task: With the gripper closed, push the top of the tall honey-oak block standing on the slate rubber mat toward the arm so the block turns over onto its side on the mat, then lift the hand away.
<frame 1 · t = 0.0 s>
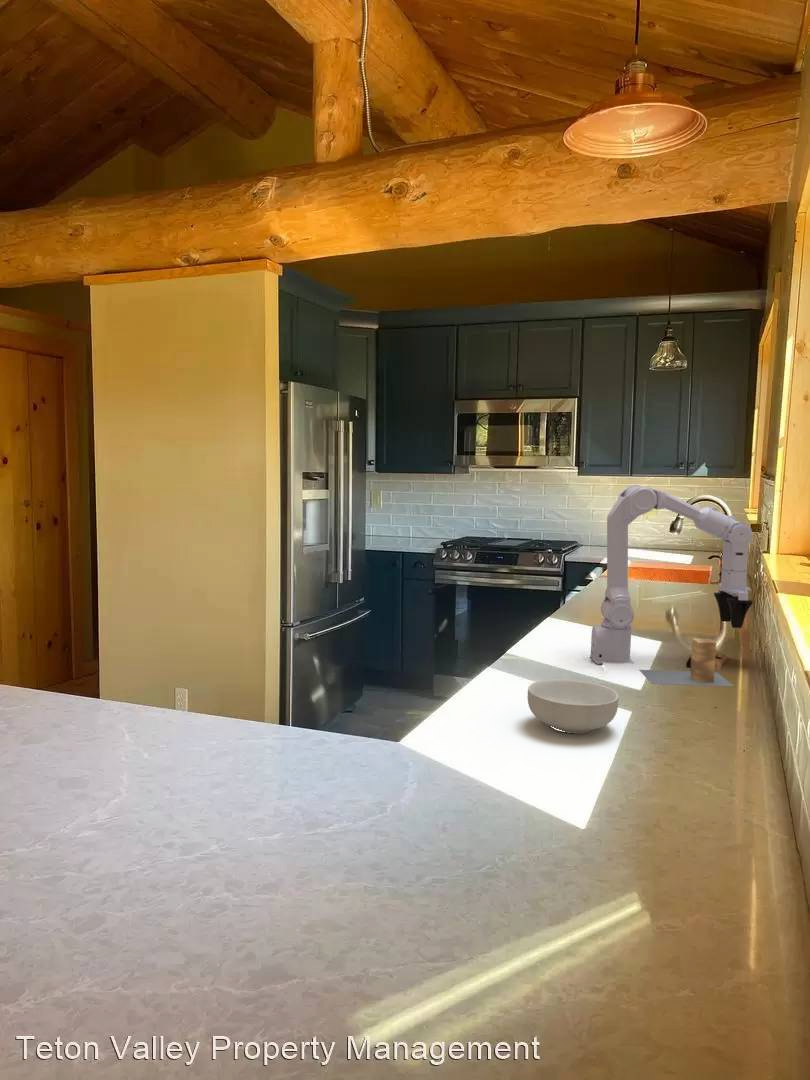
hand: (731, 624, 198), 10 cm above the countertop, fingers open, 7 cm apart
slate mat: (684, 680, 184), on the countertop
cereal bowl: (571, 728, 150), on the countertop
sunglasses case: (708, 666, 199), on the countertop
oak block: (701, 679, 182), point 1 cm above the countertop, touching slate mat
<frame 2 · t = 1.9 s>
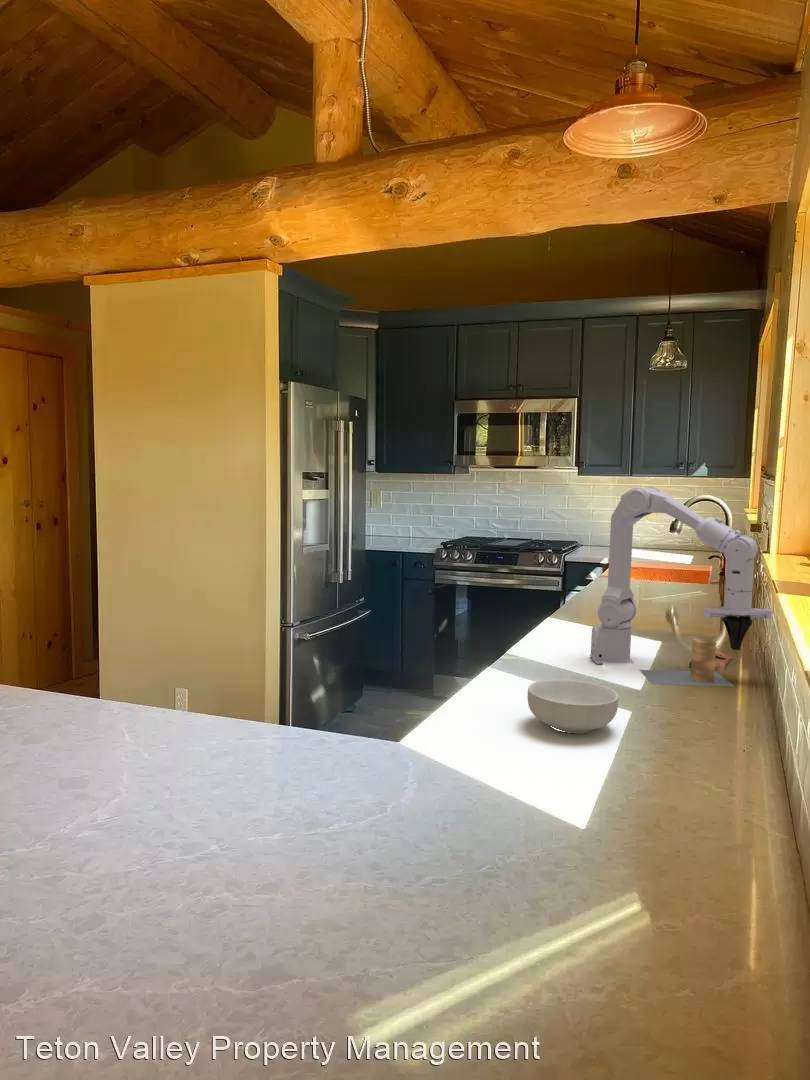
hand: (735, 649, 181), 8 cm above the countertop, fingers closed
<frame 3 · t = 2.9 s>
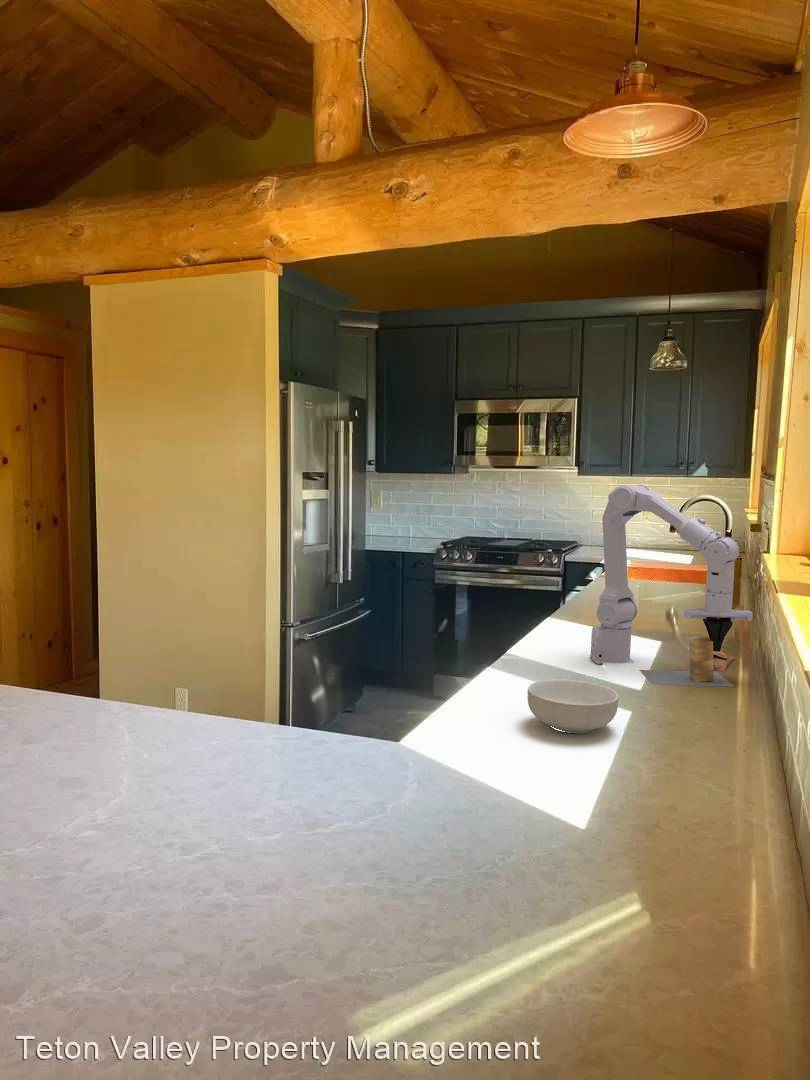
hand: (715, 650, 182), 7 cm above the countertop, fingers closed
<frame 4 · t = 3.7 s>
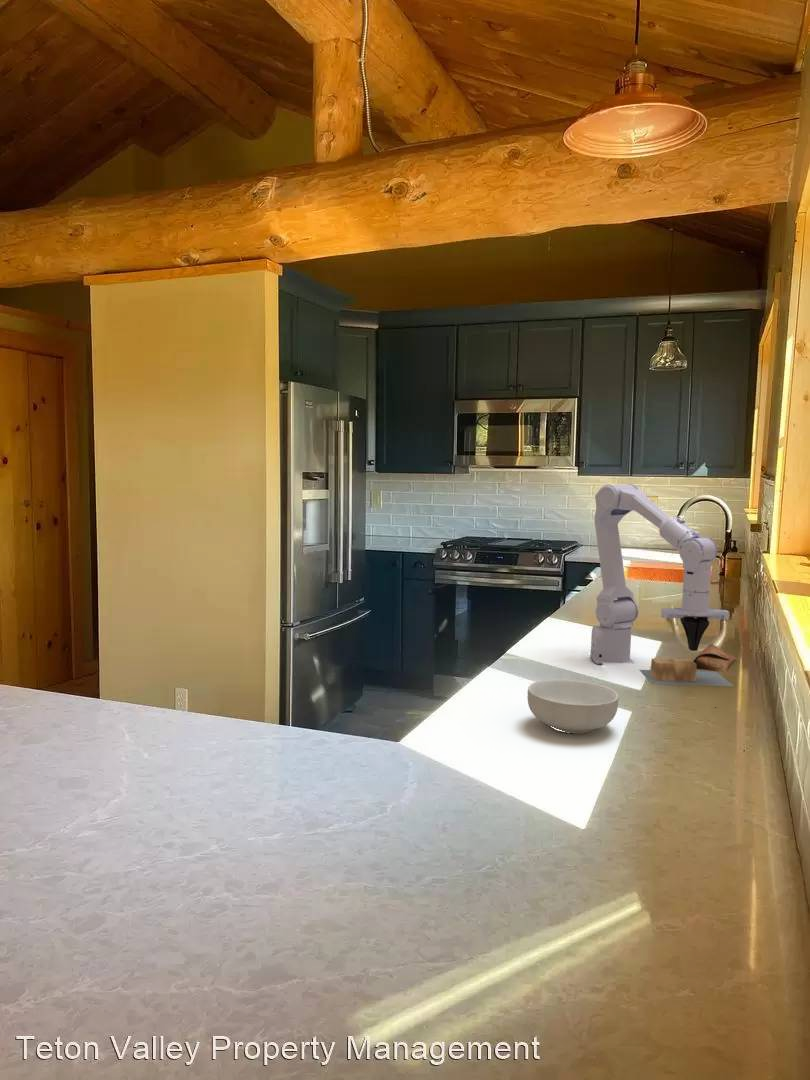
hand: (692, 649, 182), 7 cm above the countertop, fingers closed
oak block: (693, 670, 182), point 3 cm above the countertop, tilted 90°, touching slate mat
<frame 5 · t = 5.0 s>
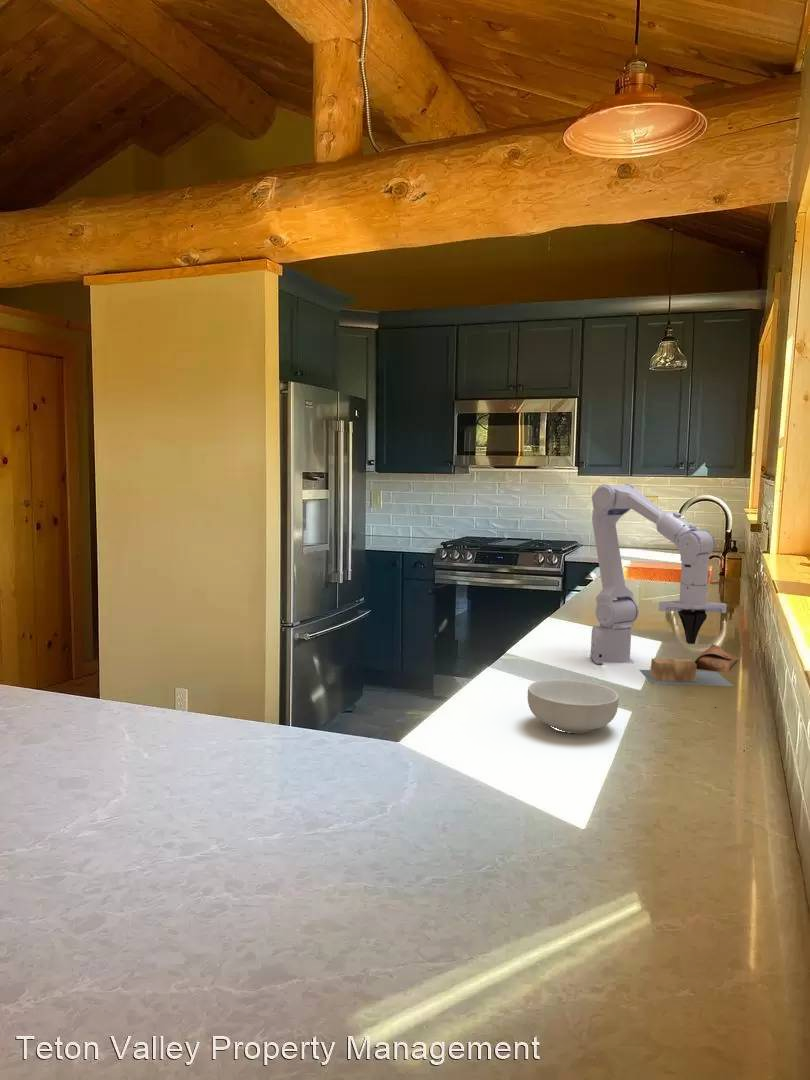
hand: (690, 642, 182), 9 cm above the countertop, fingers closed
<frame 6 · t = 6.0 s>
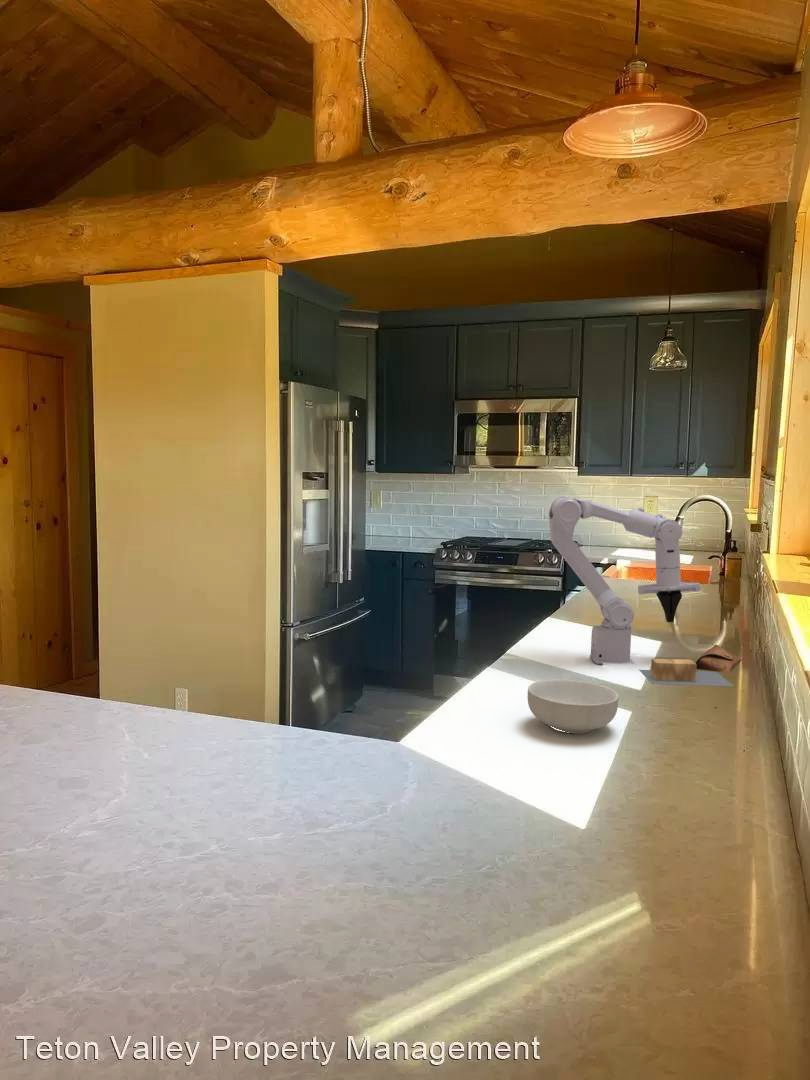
hand: (669, 621, 198), 10 cm above the countertop, fingers closed
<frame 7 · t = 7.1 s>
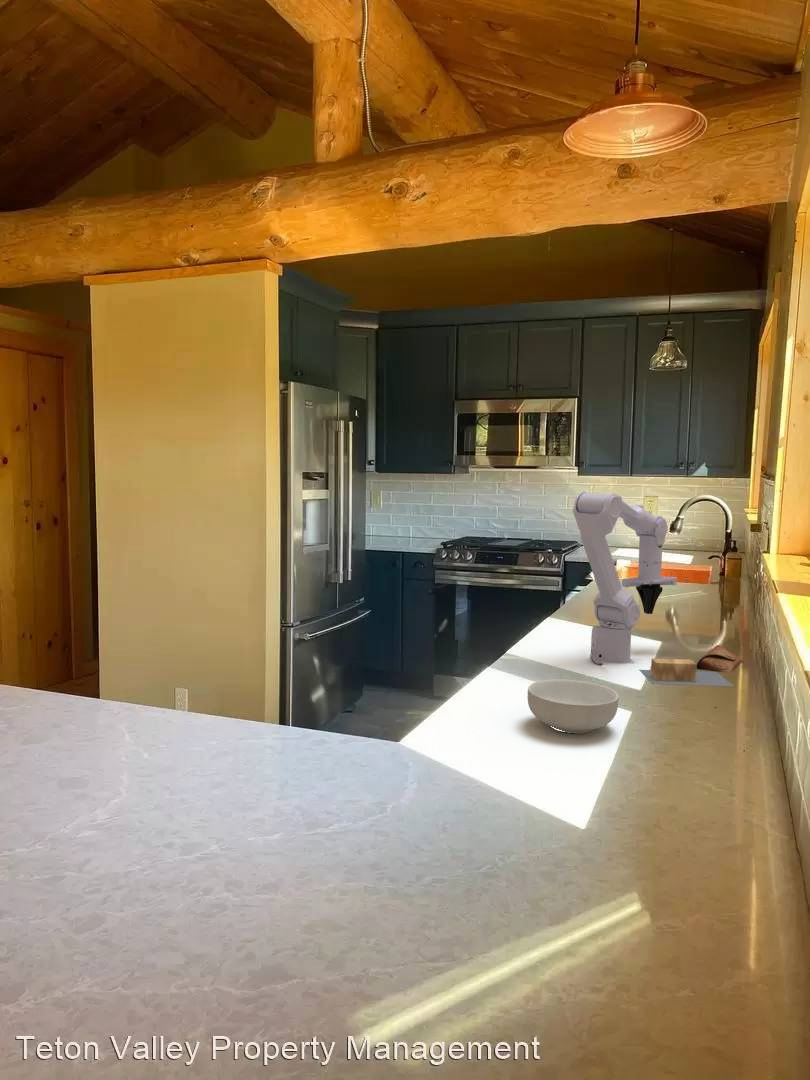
hand: (648, 613, 209), 10 cm above the countertop, fingers closed
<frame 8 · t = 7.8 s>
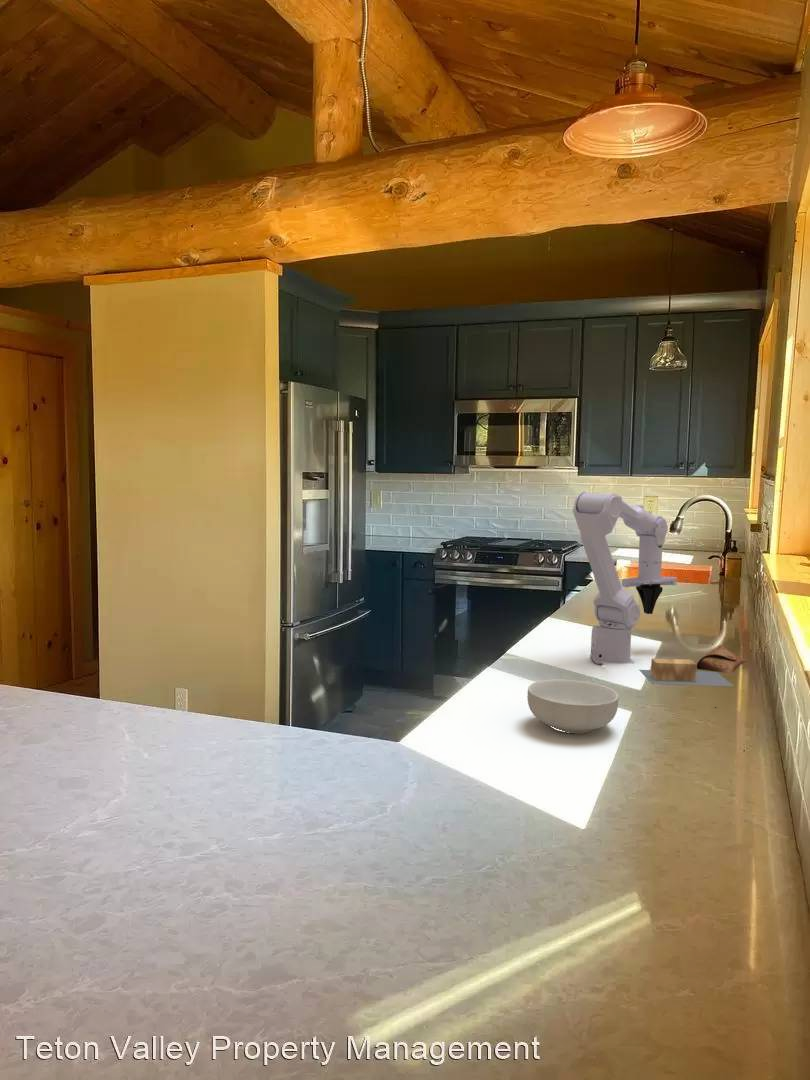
hand: (648, 613, 209), 10 cm above the countertop, fingers closed
at the end: oak block tilted 90°; oak block inside the target area (1.0 cm from its centre), point 2.6 cm above the countertop; oak block touching slate mat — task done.
